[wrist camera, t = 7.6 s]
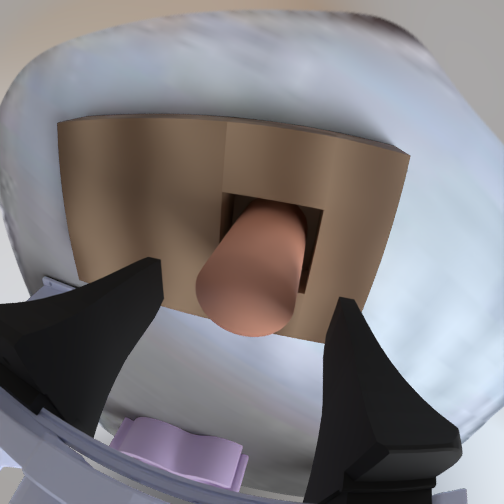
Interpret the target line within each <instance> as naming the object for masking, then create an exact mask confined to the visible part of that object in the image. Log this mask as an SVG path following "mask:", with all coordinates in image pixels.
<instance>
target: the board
mask: <svg viewBox="0 0 504 504" xmlns="http://www.w3.org/2000/svg"><path fill="white" fill-rule="evenodd" d="M57 130H58V150H59V164H60V174H61V184H62V192H63V199H64V206H65V213H66V219H67V225H68V230H69V236H70V241H71V246H72V250H73V255H74V260H75V264H76V268H77V272H78V276H79V280H81V281H84V282H87V283H91V282H93V281H96V280H98V279H100V278H103V277H105V276H107V275H109V274H111V273H113V272H115V271H117V270H120V269H122V268H124V267H126V266H128V265H130V264H132V263H134V262H136V261H139V260H141V259H143V258H146V257H152V258H157V259H161V268H162V280H163V291H164V300H163V302H162V304H161V306H163V307H167V308H170V309H174V310H177V311H181V312H185V313H189V314H192V315H196V316H200V317H204V318H208V319H210V318H209V317H208V316H207V315H206V314H205V313H204V311H203V310H202V308H201V306H200V304H199V302H198V300H197V296H196V290H195V286H196V279H197V276H198V274H199V272H200V270H201V269H202V267H203V266H204V265H205V263H206V262H207V260H208V259H209V258H210V256H211V255H212V253H213V252H214V251H215V249H216V248H217V246H218V245H219V244H220V242H221V241H222V240H223V238H224V237H225V235H226V234H227V233H228V231H229V230H230V229H231V227H232V226H233V224H234V223H235V222H236V220H237V219H238V218H239V216H240V215H241V214H242V212H243V211H244V209H245V208H246V207H247V206H248V205H249V204H250V203H251V202H252V201H253V200H255V199H257V198H263V199H268V200H274V201H280V202H285V203H291V204H296V205H298V206H299V208H300V209H301V210H302V212H303V213H304V215H305V217H306V220H307V225H308V232H307V239H306V245H305V251H304V258H303V264H302V270H301V275H300V281H299V287H298V292H297V298H296V303H295V309H294V312H293V315H292V317H291V319H290V321H289V322H288V323H287V324H286V325H285V326H284V327H283V328H282V329H280V330H279V331H277V332H275V333H273V334H277V335H282V336H287V337H292V338H297V339H302V340H307V341H313V342H318V343H324V344H325V338H326V333H327V330H328V327H329V325H330V322H331V319H332V316H333V313H334V310H335V307H336V304H337V301H338V298H339V297H345V298H350V299H354V300H355V301H356V303H357V305H358V307H359V309H360V311H361V312H362V310H363V307H364V305H365V302H366V300H367V297H368V295H369V292H370V289H371V287H372V284H373V281H374V279H375V276H376V273H377V270H378V268H379V265H380V262H381V259H382V256H383V253H384V250H385V247H386V244H387V241H388V238H389V234H390V231H391V228H392V225H393V221H394V218H395V214H396V211H397V207H398V204H399V200H400V196H401V193H402V189H403V185H404V181H405V177H406V173H407V168H408V164H409V160H410V155H408V154H407V153H405V152H404V151H402V150H400V149H399V148H397V147H396V146H392V145H389V144H385V143H381V142H377V141H373V140H369V139H365V138H361V137H356V136H352V135H347V134H342V133H338V132H333V131H328V130H322V129H317V128H311V127H305V126H299V125H293V124H286V123H279V122H272V121H264V120H255V119H246V118H236V117H224V116H210V115H191V114H116V115H98V116H86V117H81V118H76V119H72V120H67V121H63V122H59V123H57Z"/></svg>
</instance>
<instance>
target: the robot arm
mask: <svg viewBox="0 0 504 504" xmlns="http://www.w3.org/2000/svg"><path fill="white" fill-rule="evenodd" d="M42 280H43V284H44V286H43V287H41V288H40V289H39V290H38V291H37V292H36V293H35V294H34V295H33V296H31V297H30V298H29V299H28V300H27V301H26V302H18V303H7V304H0V471H1V469H2V468H3V467H15V468H22V471H23V473H24V475H25V476H24V478H23V479H22V481H21V483H20V484H19V486H18V488H17V490H16V491H15V493H14V495H13V497H12V498H11V500H10V502H9V504H171V503H168V502H166V501H163V500H160V499H158V498H156V497H153V496H151V495H149V494H146V493H144V492H142V491H140V490H137V489H135V488H133V487H131V486H129V485H126V484H124V483H122V482H120V481H118V480H116V479H114V478H112V477H110V476H108V475H106V474H104V473H102V472H100V471H98V470H96V469H94V468H93V467H92V466H91V465H90V464H88V463H87V462H86V461H85V460H84V458H83V457H82V456H81V455H80V454H78V453H76V452H75V451H74V450H76V451H78V452H79V453H81V454H83V455H84V456H86V457H88V458H90V459H91V460H93V461H95V462H97V463H99V464H101V465H102V466H104V467H106V468H108V469H110V470H112V471H114V472H117V473H118V474H120V475H123V476H125V477H127V478H129V479H131V480H133V481H136V482H138V483H140V484H143V485H145V486H147V487H150V488H152V489H155V490H158V491H160V492H163V493H165V494H168V495H171V496H174V497H176V498H179V499H182V500H185V501H188V502H192V503H195V504H467V493H466V492H467V491H466V489H465V488H463V489H458V490H454V491H448V492H442V493H438V494H435V495H433V496H432V488H434V487H435V486H436V476H438V475H440V474H441V473H442V472H444V471H445V470H447V469H448V468H450V467H451V466H453V465H454V464H455V463H456V462H457V461H458V460H459V459H460V458H461V456H462V445H461V439H460V434H459V430H458V428H457V427H456V426H455V425H453V424H452V423H451V422H449V421H448V420H447V419H446V418H444V417H443V416H442V415H440V414H439V413H438V412H437V411H436V410H434V409H433V408H432V407H431V406H430V405H429V404H428V403H427V402H426V401H425V400H424V399H423V398H422V397H421V396H420V395H419V394H418V393H417V392H416V391H415V390H414V389H413V388H412V387H411V386H410V385H409V384H408V383H407V381H406V380H405V379H404V378H403V377H402V375H401V374H400V373H399V372H398V370H397V369H396V368H395V366H394V365H393V364H392V362H391V361H390V360H389V358H388V357H387V355H386V354H385V352H384V351H383V349H382V348H381V346H380V345H379V343H378V341H377V340H376V338H375V336H374V334H373V333H372V331H371V329H370V327H369V326H368V324H367V322H366V320H365V318H364V316H363V314H362V312H361V311H360V309H359V307H358V305H357V303H356V301H355V300H354V299H350V298H345V297H339V298H338V301H337V304H336V307H335V310H334V313H333V316H332V319H331V322H330V325H329V327H328V330H327V333H326V338H325V346H324V355H323V406H322V417H321V424H320V430H319V436H318V442H317V447H316V452H315V457H314V461H313V466H312V470H311V474H310V478H309V482H308V486H307V490H306V493H305V497H304V500H303V503H299V502H291V501H283V500H276V499H270V498H264V497H259V496H253V495H248V494H243V493H239V492H235V491H230V490H226V489H222V488H218V487H215V486H211V485H207V484H204V483H200V482H197V481H194V480H191V479H188V478H185V477H182V476H179V475H176V474H173V473H170V472H167V471H165V470H162V469H159V468H157V467H154V466H152V465H149V464H147V463H144V462H142V461H140V460H137V459H135V458H133V457H130V456H128V455H126V454H124V453H122V452H120V451H118V450H115V449H113V448H111V447H109V446H107V445H105V444H103V443H101V442H100V441H98V440H96V439H94V435H95V431H96V428H97V425H98V422H99V419H100V416H101V413H102V410H103V408H104V405H105V403H106V400H107V398H108V395H109V393H110V391H111V388H112V386H113V384H114V382H115V380H116V378H117V376H118V374H119V372H120V370H121V368H122V366H123V364H124V362H125V360H126V359H127V357H128V355H129V354H130V352H131V351H132V350H133V348H134V347H135V345H136V344H137V342H138V341H139V339H140V338H141V337H142V335H143V334H144V332H145V331H146V329H147V328H148V326H149V325H150V324H151V322H152V321H153V319H154V318H155V316H156V314H157V312H158V310H159V308H160V306H161V304H162V302H163V300H164V291H163V280H162V268H161V259H157V258H152V257H146V258H143V259H141V260H139V261H136V262H134V263H132V264H130V265H128V266H126V267H124V268H122V269H120V270H117V271H115V272H113V273H111V274H109V275H107V276H105V277H103V278H100V279H98V280H96V281H93V282H91V283H89V284H87V285H84V286H82V287H79V288H74V287H71V286H69V285H66V284H64V283H61V282H59V281H56V280H53V279H51V278H49V277H46V276H45V277H43V279H42ZM67 445H68V446H69V447H68V446H67ZM70 447H71V448H73V449H74V450H73V449H71V448H70Z"/></svg>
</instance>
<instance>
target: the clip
mask: <svg viewBox="0 0 504 504" xmlns="http://www.w3.org/2000/svg"><path fill="white" fill-rule="evenodd" d="M109 447H111V448H113V449H115V450H118V451H120V452H122V453H124V454H126V455H128V456H131V457H133V458H135V459H137V460H140V461H142V462H144V463H147V464H149V465H152V466H154V467H157V468H159V469H162V470H165V471H167V472H170V473H173V474H176V475H179V476H182V477H185V478H188V479H191V480H194V481H197V482H200V483H204V484H207V485H211V486H215V487H218V488H222V489H226V490H230V491H235V492H239V489H240V486H241V483H242V479H243V476H244V472H245V469H246V465H247V462H248V458H249V456H248V455H244V454H241V451H242V448H243V446H241V445H239V444H237V443H235V442H233V441H230V440H227V439H223V438H219V437H214V436H200V435H195V434H191V433H188V432H186V431H184V430H182V429H180V428H178V427H176V426H173V425H171V424H168V423H166V422H163V421H160V420H157V419H153V418H148V417H138V418H136V419H135V421H133V420H131V419H129V418H127V417H125V419H124V420H123V422H122V424H121V426H120V427H119V429H118V431H117V433H116V435H115V436H114V438H113V440H112V442H111V443H110V445H109Z"/></svg>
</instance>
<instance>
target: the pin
mask: <svg viewBox="0 0 504 504" xmlns="http://www.w3.org/2000/svg"><path fill="white" fill-rule="evenodd" d="M307 232H308V225H307V220H306V217H305V215H304V213H303V212H302V210H301V209H300V208H299V206H298V205H296V204H291V203H285V202H280V201H274V200H268V199H263V198H257V199H255V200H253V201H252V202H251V203H250V204H249V205H248V206H247V207H246V208H245V209H244V211H243V212H242V214H241V215H240V216H239V218H238V219H237V220H236V222H235V223H234V224H233V226H232V227H231V229H230V230H229V231H228V233H227V234H226V235H225V237H224V238H223V240H222V241H221V242H220V244H219V245H218V246H217V248H216V249H215V251H214V252H213V253H212V255H211V256H210V258H209V259H208V260H207V262H206V263H205V265H204V266H203V267H202V269H201V270H200V272H199V274H198V276H197V279H196V286H195V290H196V296H197V300H198V302H199V304H200V306H201V308H202V310H203V311H204V313H205V314H206V315H207V316H208V317H209V318H210V319H211V320H212V321H213V322H214V323H216V324H217V325H218V326H220V327H221V328H223V329H225V330H227V331H229V332H232V333H234V334H238V335H242V336H248V337H260V336H266V335H270V334H273V333H275V332H277V331H279V330H280V329H282V328H283V327H284V326H285V325H286V324H287V323H288V322H289V321H290V319H291V317H292V315H293V312H294V309H295V303H296V298H297V292H298V287H299V281H300V275H301V270H302V264H303V258H304V251H305V245H306V239H307Z"/></svg>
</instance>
